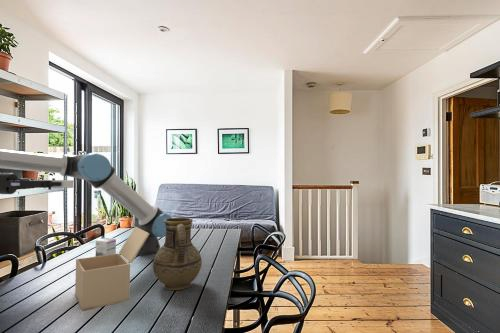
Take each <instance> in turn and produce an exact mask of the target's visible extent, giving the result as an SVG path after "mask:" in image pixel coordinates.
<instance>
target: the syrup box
mask: <svg viewBox="0 0 500 333" xmlns="http://www.w3.org/2000/svg"><path fill="white" fill-rule="evenodd" d="M116 250H117V239H116V238H111V237H102V238H98V239H96V240H95V257H97V256H104V255H111V254H117V253H116V252H117V251H116Z"/></svg>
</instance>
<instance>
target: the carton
mask: <svg viewBox="0 0 500 333" xmlns="http://www.w3.org/2000/svg"><path fill="white" fill-rule="evenodd" d="M74 283H75V286H74V287H75V289H74V290H75V291H74V293H75V294H74V295H75V297H76V300H77V303H78V304H79V306H80V309H81V311H83V312H84V311H87V310H88V311H89V310H92V309H97V308H101V307H107V306H110V305H113V304H119V303H124V302H129V301H130V294H131V291H130V290H131V289H130V287H131V263H130V262H129V261H128V260H126V259H125V258H124V257H123V256H122V255H121V254H120V253H116V254H111V255H104V256H97V257H96V256H91V257H90V256H89V257H82V258H76V259H75V282H74Z"/></svg>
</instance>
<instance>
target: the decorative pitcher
mask: <svg viewBox="0 0 500 333" xmlns="http://www.w3.org/2000/svg"><path fill="white" fill-rule="evenodd" d="M193 221H194V220H193V218H190V217H172V218H169V219H165V220H164V222H165V227H166V235H165V237H164V238H165V240H164V244H163V245H162V246H160V250H159V251H158V252H157V253H155V256H154V258H153V262H152V269H153V273H154V275H155V277H156V278H157V280H158V281H160V283H162V284H163V285H164V288H165V289H166V290H171V291H182V290H185V289H188V288H190V287H191V286H192V282H193V281H195V279H196V278H197V277H198V276H199V273H200V271H201V269H202V265H203V260H202V256H201V253H200V252H199V249H198V248H197V247H196V246H195V245H194V244H193V243H192V238H191V233H192V227H193Z"/></svg>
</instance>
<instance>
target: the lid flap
mask: <svg viewBox="0 0 500 333" xmlns="http://www.w3.org/2000/svg"><path fill="white" fill-rule="evenodd" d="M133 228H134V227H133ZM148 236H149V233H147V232H145V231H144V230H142V229H140V228H138V227H135V228H134V229H133V230H132V232H131V233H130V234H129V236H128V238H127V239H126V240H125V242H124V244H123V246H122V247H121V248H120V250H119V252H118V254H120V255H121V256H122V257H123V258H124V259H125V260H126V261H127V262H128V263H130V264H133V262H134V260H135V259H136V257H137V256H138V255H137V254H138V252H139V250H140V249H141V247H142V245H143V244H144V242H145V241H146V239H147V237H148Z"/></svg>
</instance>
